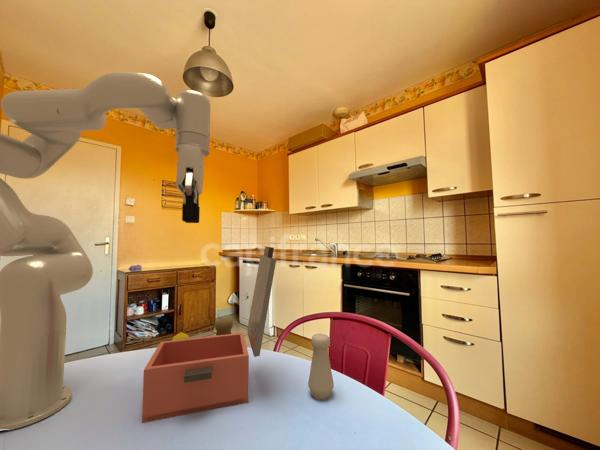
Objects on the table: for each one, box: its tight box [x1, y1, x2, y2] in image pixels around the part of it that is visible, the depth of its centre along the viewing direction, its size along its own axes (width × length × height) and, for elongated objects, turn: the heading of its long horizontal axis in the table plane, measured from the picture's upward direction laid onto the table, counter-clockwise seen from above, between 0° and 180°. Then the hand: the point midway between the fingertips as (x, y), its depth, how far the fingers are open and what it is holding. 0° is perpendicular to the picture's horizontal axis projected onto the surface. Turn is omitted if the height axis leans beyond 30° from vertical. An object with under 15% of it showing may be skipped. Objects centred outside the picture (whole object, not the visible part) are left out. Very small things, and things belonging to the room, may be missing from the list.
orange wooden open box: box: [141, 332, 250, 424], centre depth 58 cm, size 20×19×10 cm
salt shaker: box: [307, 332, 335, 400], centre depth 57 cm, size 6×6×13 cm
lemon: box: [171, 331, 191, 341], centre depth 73 cm, size 6×6×8 cm
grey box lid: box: [246, 246, 277, 358], centre depth 63 cm, size 24×16×1 cm
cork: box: [214, 317, 234, 336], centre depth 75 cm, size 6×6×11 cm
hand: (191, 221), depth 59 cm, fingers open, 3 cm apart
